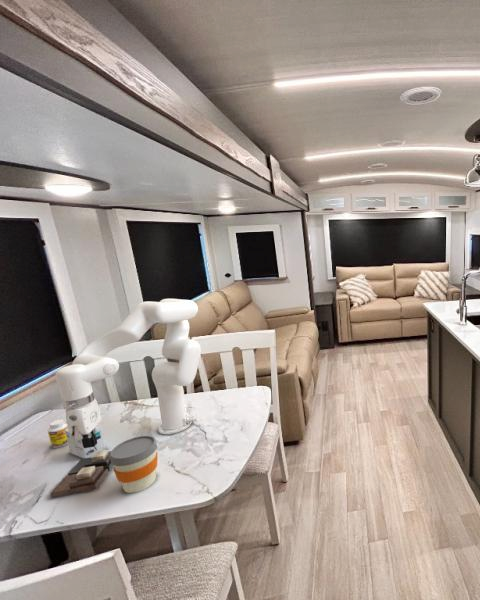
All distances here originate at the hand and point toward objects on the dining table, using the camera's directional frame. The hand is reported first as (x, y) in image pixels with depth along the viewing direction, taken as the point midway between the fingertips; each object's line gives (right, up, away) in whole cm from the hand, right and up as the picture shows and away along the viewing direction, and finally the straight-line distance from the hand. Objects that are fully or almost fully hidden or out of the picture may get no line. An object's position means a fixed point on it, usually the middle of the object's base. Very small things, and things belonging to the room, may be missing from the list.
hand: (90, 445), depth 112 cm
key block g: (-3, -14, -1) cm, 14 cm away
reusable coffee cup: (+17, -14, +1) cm, 22 cm away
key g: (-1, -10, -1) cm, 10 cm away
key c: (-4, -8, +8) cm, 12 cm away
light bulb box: (-17, -10, +16) cm, 26 cm away
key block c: (-6, -12, +8) cm, 15 cm away
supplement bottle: (-32, -9, +20) cm, 39 cm away
